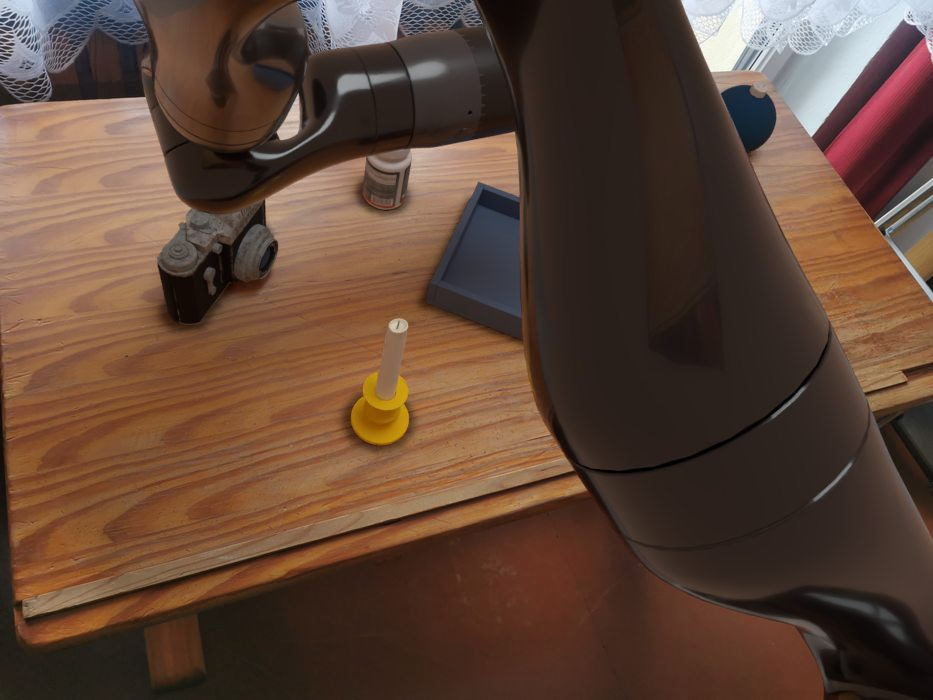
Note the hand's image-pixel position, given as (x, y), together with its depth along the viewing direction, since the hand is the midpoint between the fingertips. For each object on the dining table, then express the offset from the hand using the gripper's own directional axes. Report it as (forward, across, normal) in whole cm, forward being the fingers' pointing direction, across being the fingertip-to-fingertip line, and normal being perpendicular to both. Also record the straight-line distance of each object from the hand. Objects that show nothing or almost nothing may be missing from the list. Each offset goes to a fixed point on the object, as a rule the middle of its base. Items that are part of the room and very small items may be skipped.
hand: (642, 56), depth 61 cm
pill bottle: (-12, +16, +28) cm, 34 cm away
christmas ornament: (+34, +11, +27) cm, 45 cm away
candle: (-24, -10, +28) cm, 38 cm away
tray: (-2, 0, +27) cm, 27 cm away
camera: (-31, +10, +28) cm, 43 cm away
